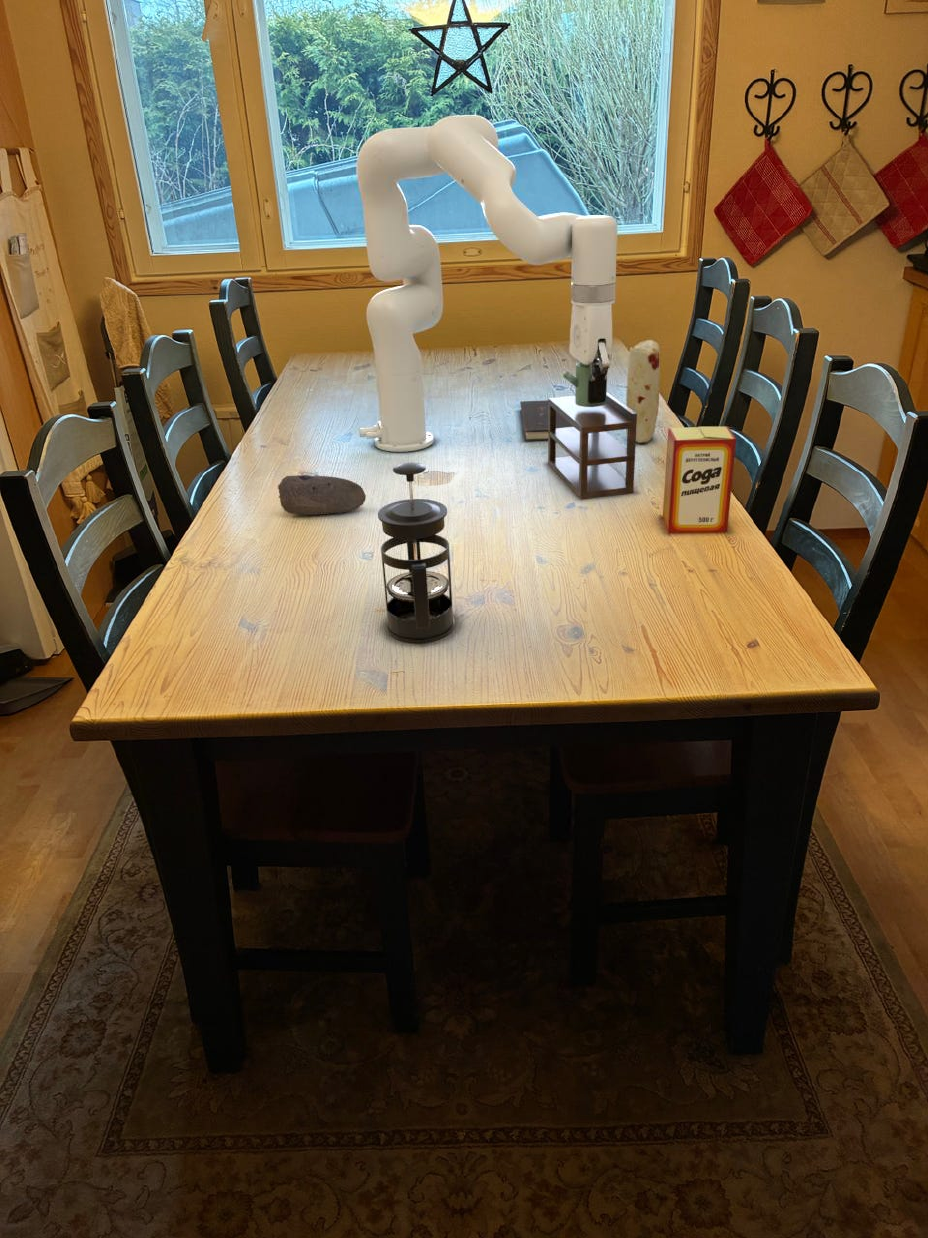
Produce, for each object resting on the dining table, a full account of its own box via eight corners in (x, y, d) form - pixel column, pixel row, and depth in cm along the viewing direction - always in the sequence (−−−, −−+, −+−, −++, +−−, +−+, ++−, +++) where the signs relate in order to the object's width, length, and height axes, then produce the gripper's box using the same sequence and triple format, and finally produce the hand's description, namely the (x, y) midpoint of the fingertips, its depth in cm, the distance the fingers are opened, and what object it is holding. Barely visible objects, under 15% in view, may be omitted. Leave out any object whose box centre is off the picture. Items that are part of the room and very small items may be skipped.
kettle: (567, 409, 167) (568, 360, 163) (558, 401, 172) (558, 354, 168) (610, 405, 169) (612, 356, 165) (600, 397, 174) (601, 350, 170)
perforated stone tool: (368, 506, 169) (365, 469, 166) (365, 517, 165) (361, 479, 161) (286, 508, 170) (281, 471, 167) (280, 519, 165) (275, 482, 162)
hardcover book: (524, 441, 199) (524, 430, 198) (520, 410, 219) (520, 401, 218) (600, 438, 198) (600, 427, 197) (589, 408, 219) (589, 398, 217)
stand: (580, 499, 168) (582, 419, 161) (548, 464, 185) (548, 390, 178) (633, 492, 170) (637, 413, 163) (596, 458, 187) (598, 385, 180)
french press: (384, 611, 133) (370, 455, 122) (450, 605, 134) (442, 449, 123) (388, 652, 123) (373, 486, 112) (460, 645, 124) (451, 479, 113)
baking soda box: (668, 533, 153) (674, 437, 146) (662, 517, 159) (668, 425, 151) (727, 532, 153) (736, 436, 145) (719, 516, 158) (728, 424, 151)
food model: (658, 446, 192) (664, 347, 183) (625, 446, 193) (629, 347, 184) (655, 431, 201) (661, 336, 191) (624, 431, 202) (628, 336, 192)
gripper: (557, 287, 169) (556, 388, 177) (588, 303, 154) (586, 412, 162) (597, 284, 170) (594, 384, 178) (632, 299, 155) (627, 408, 164)
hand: (590, 396), depth 170 cm, fingers closed on kettle, 5 cm apart
